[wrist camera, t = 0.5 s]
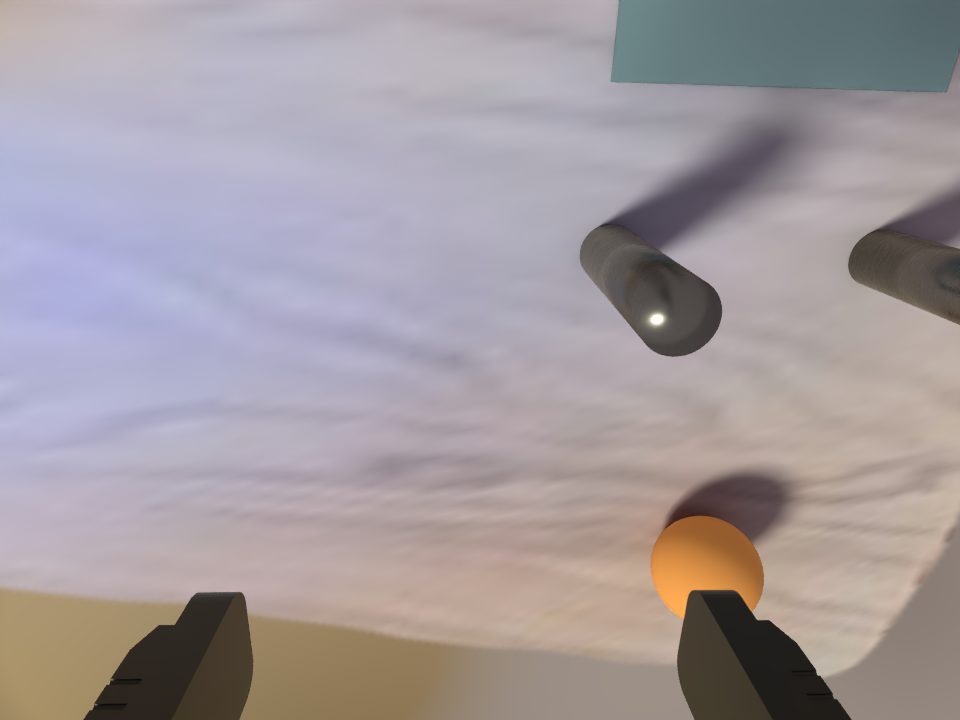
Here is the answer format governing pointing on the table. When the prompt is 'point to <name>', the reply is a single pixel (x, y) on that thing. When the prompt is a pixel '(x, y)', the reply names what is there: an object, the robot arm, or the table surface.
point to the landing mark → (789, 43)
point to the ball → (705, 562)
